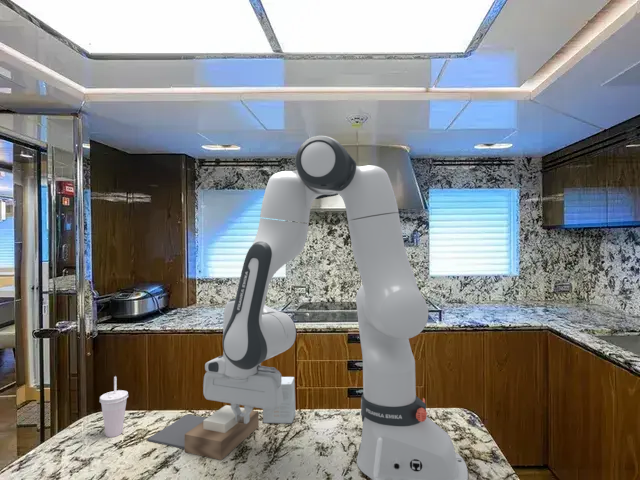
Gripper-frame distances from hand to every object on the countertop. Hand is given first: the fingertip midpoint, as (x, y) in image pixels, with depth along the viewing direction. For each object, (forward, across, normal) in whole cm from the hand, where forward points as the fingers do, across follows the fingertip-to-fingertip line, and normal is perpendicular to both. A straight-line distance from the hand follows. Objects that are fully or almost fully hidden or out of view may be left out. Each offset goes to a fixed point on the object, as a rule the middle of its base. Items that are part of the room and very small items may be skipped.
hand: (242, 422), depth 88 cm
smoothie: (+5, +33, +7) cm, 34 cm away
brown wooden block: (+5, +5, 0) cm, 7 cm away
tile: (+1, +5, 0) cm, 5 cm away
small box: (+5, -3, -14) cm, 15 cm away
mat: (+5, +16, 0) cm, 17 cm away
